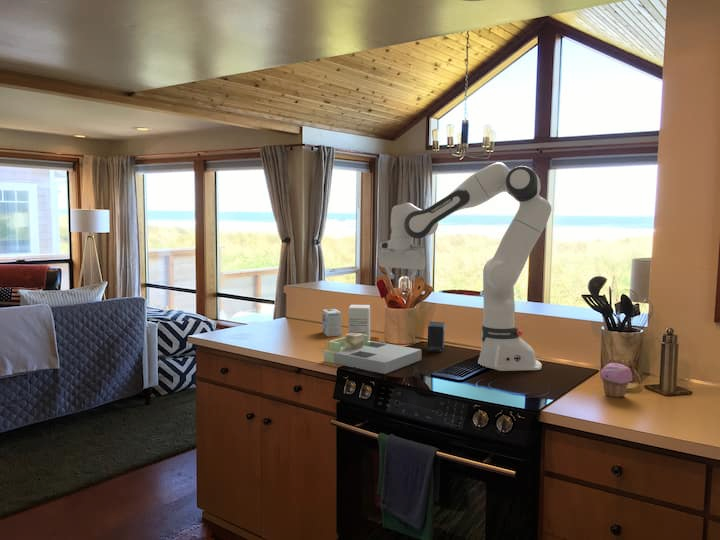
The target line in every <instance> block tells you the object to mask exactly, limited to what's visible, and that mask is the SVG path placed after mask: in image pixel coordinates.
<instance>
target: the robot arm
mask: <svg viewBox="0 0 720 540" xmlns="http://www.w3.org/2000/svg"><path fill="white" fill-rule="evenodd" d="M542 186H543V185H542V183H541V180H540V177H539V176H538V174H537V173H536V172H535V170H533V169H532V168H531V167H528V166H525V165H520V166H515V167H513V168H512V169H510V168H509V167H508V166H507V165H506V164H505V163H503V162H499V161H498V162H497V161H496V162H494V163H492V164H489V165H487V166H485V167H483V168H481V169H480V170H477V172H475V173H473V174H472V175H470V176H469V177H468V178H466V179H465V180H464V181H462V183H461V184H459V185H458V186H457V187H456V188H454V190H453V191H451V192H450V193H449V194H448V195H446V196H444V197H443V198H442V199H440V200H439V201H436V202H435V203H434V204H432V205H430V206H428V207H427V208H425V209H421V208H419V207H417V206H416V205H414V204H413V203H411V202H401V203H398V204H395V205H393V207H392V209H391V214H390V228H391V233H390V239H389V240H386V241H383V242H381V243H379V249H380V250H379V251H378V260H377V261H378V262H377V263H378V265H379V266H378V267H381V268H385V269H386V272H387V274H388V279H389V280H394V279H395V274H393V269H405V270H410V271H411V275H409V276H408V280H409V281H412V282H415V276H416V275H417V273H418V270H419V271H420V270H425V268H426V263H427V262H426V249H425V247H423V246H422V245H415V244H414V239H423V238H424V237H428V236H431V235H433V234H434V233H436V231H437V230H438V227H439V222H441V221H442V220H444V219H445V218H447V217H448V216H451V215H452V214H453V213H455V212H457V211H460V210H463V209H470V208H474V207H477V206H480V205H482V204H484V203H486V202H487V201H489V200H490V199H492V198H494V197H495V196H497V195H499V194H501V193H504V192H505V193H508V194H509V195H510V197H512V198H513V199H515V200H516V201H517V202H519V207H518V210H517V212H516V214H515V215H514V217H513V218H512V220H511V222H510V224H509V225H508V228H507V230H506V231H505V232H504V235H503V236H502V238H501V239H500V243H499V245H498V247H497V248H496V251H495V254H494V255H493V257H492V258H490V259H489V260H487V261H486V263H485V264H484V267H483V270H482V271H483V272H482V286H483V287H482V288H483V289H482V290H483V292H482V294H483V295H482V296H483V317H482V318H483V321H482V322H483V323H482V325H481V333H480V335H481V349H480V354H479V357H478V360H477V363H478V365H479V364H480V366H481V365H482V367H484V366H485V367H484V368H489V369H493V370H496V371H498V372H499V371H500V372H501V371H502V372H504V371H505V372H509V371H512V372H515V371H516V372H517V371H539V370H542V367H543V365H542V362H540V361H539V360H538V359H537V357H536V353H535V350H534V348H533V347H532V346H531V345H529V343H528V342H526V341H525V340H524V339H522V338H521V336H523V329H522V330H521V329H520V328H519V327H516V326H515V313H516V312H515V310H516V305H515V304H516V303H515V287H514V286H515V285H516V283H517V282H518V280H519V278H520V276H521V273H522V271H523V270H524V268H525V265H526V263H527V261H528V259H529V256H530V254H531V252H532V251H533V249H534V247H535V246H536V243H537V242H538V240H539V238H540V237H541V235H542V233H543V232H544V229H545V227H546V226H547V223H548V221H549V219H550V215H551V212H552V205H551V204H550V202H549V201H548V200H547V199H545V198H544V197H542V196H541V194H542V189H543V187H542Z"/></svg>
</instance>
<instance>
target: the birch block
mask: <svg viewBox="0 0 720 540" xmlns="http://www.w3.org/2000/svg"><path fill="white" fill-rule="evenodd" d="M344 337H345V348H350V349H358V348H362V347H363V334H359V333H349V332H348V333H346V334H344Z"/></svg>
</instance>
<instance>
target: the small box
mask: <svg viewBox="0 0 720 540" xmlns="http://www.w3.org/2000/svg"><path fill="white" fill-rule="evenodd" d="M445 325H446V324H445V322H444V321H432V320H431V321H429V323H428V325H427V345H426V346H427V347H426V350H427V351H426V352H437V353H438V352H439V353H440V352H441V353H442V352H443V351H444V347H445V331H446V329H445V327H446V326H445Z"/></svg>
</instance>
